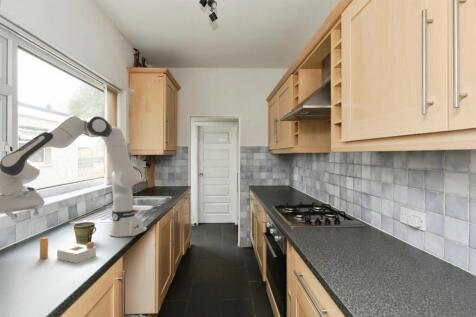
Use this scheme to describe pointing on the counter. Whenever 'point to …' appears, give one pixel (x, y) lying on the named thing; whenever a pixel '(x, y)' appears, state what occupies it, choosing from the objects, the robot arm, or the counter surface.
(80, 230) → the ceramic cup
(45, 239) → the pin
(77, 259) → the housing
